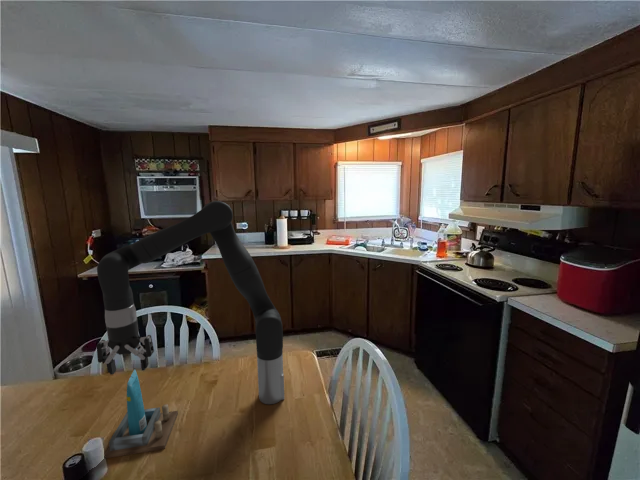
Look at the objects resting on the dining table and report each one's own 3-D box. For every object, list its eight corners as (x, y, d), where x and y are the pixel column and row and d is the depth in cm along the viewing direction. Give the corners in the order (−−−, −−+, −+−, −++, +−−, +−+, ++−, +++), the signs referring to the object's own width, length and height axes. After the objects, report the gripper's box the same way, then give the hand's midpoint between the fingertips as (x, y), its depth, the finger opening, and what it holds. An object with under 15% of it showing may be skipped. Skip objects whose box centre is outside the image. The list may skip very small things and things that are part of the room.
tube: (131, 425, 94) (125, 370, 91) (148, 420, 96) (143, 367, 93) (126, 443, 87) (119, 385, 84) (145, 437, 89) (139, 381, 86)
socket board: (177, 413, 101) (176, 397, 99) (164, 448, 87) (162, 430, 86) (126, 421, 98) (124, 404, 96) (104, 458, 84) (101, 439, 83)
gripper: (152, 313, 90) (158, 360, 93) (101, 317, 87) (108, 366, 90) (143, 323, 83) (150, 375, 86) (86, 329, 80) (95, 382, 83)
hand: (128, 370), depth 88 cm, fingers open, 8 cm apart
